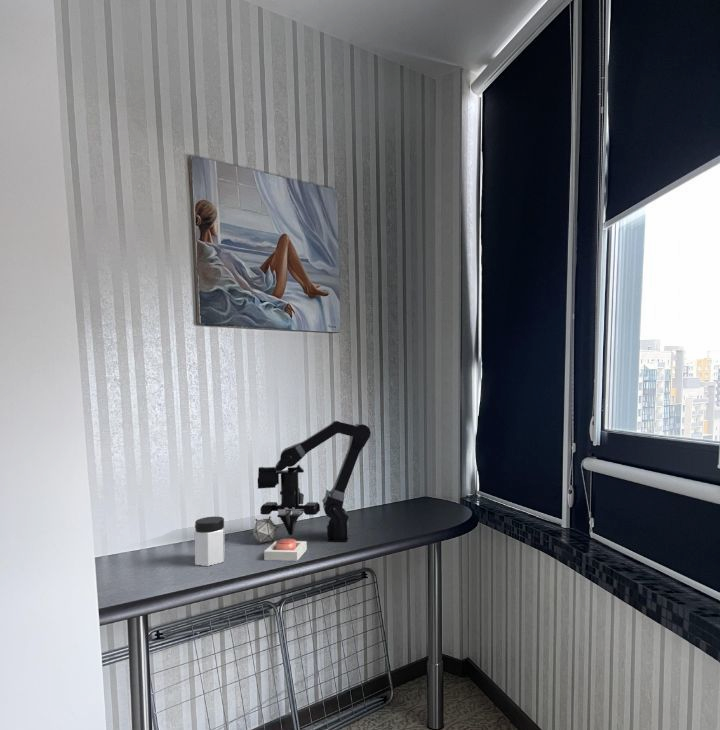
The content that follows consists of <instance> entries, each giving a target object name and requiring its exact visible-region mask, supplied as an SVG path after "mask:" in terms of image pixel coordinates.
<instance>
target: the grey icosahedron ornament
mask: <svg viewBox="0 0 720 730" xmlns="http://www.w3.org/2000/svg"><path fill="white" fill-rule="evenodd" d="M271 518H272V517H271V516H268V518H264V519H263V518H262V519H257V518H255V521H256V522H255V523H254V528H253V530H252V532H250V533H249V535H253V536H254V538H255V539H256V540H257V541H258V546H260V545H261V543H266V542H273V543H274V542H275V540H274V537H275V535H276V532H277V529H279V528H280V526H276V525H275V523H274V522H273V520H272V519H271Z"/></svg>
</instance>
